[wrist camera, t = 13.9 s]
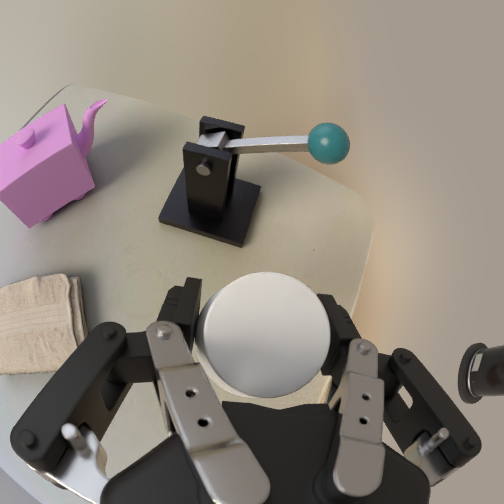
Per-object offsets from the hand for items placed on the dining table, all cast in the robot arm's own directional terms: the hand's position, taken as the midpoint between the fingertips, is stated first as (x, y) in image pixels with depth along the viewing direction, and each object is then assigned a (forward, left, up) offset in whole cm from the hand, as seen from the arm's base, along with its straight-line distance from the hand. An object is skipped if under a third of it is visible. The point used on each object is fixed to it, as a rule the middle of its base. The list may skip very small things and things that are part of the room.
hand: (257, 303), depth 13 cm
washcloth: (+24, +9, -18) cm, 32 cm away
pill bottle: (0, +2, -6) cm, 7 cm away
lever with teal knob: (+1, -15, -6) cm, 16 cm away
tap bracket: (+7, -15, -18) cm, 24 cm away
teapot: (+30, -12, -18) cm, 37 cm away
